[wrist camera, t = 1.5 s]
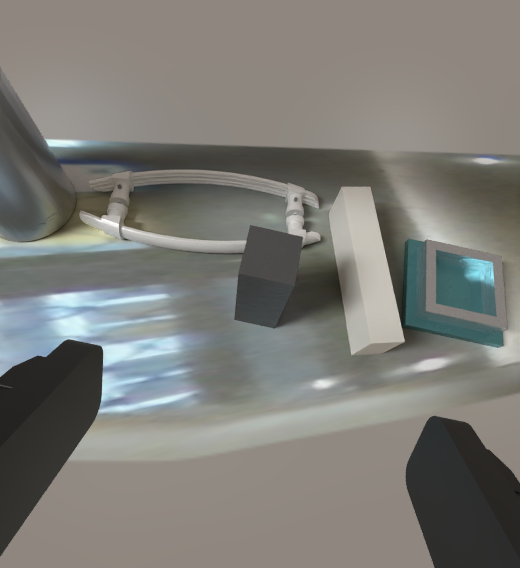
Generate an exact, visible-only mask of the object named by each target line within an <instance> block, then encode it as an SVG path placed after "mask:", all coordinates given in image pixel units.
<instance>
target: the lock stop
mask: <svg viewBox="0 0 520 568" xmlns="http://www.w3.org/2000/svg"><path fill="white" fill-rule="evenodd" d="M302 241H303V237H302V236H297V235H292V234H288V233H283V232H279V231H274V230H270V229H265V228H261V227H256V226H252V225H250V229H249V233H248V237H247V241H246V245H245V249H244V253H243V257H242V262H241V266H240V270H239V275H238V286H237V297H236V308H235V319H234V320H238V321H243V322H248V323H252V324H257V325H261V326H266V327H271V328H275V326H276V324H277V322H278V320H279V318H280V316H281V314H282V312H283V309H284V307H285V305H286V303H287V301H288V299H289V297H290V295H291V293H292V291H293V289H294V286H295V282H296V276H297V270H298V265H299V259H300V253H301V247H302Z"/></svg>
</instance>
